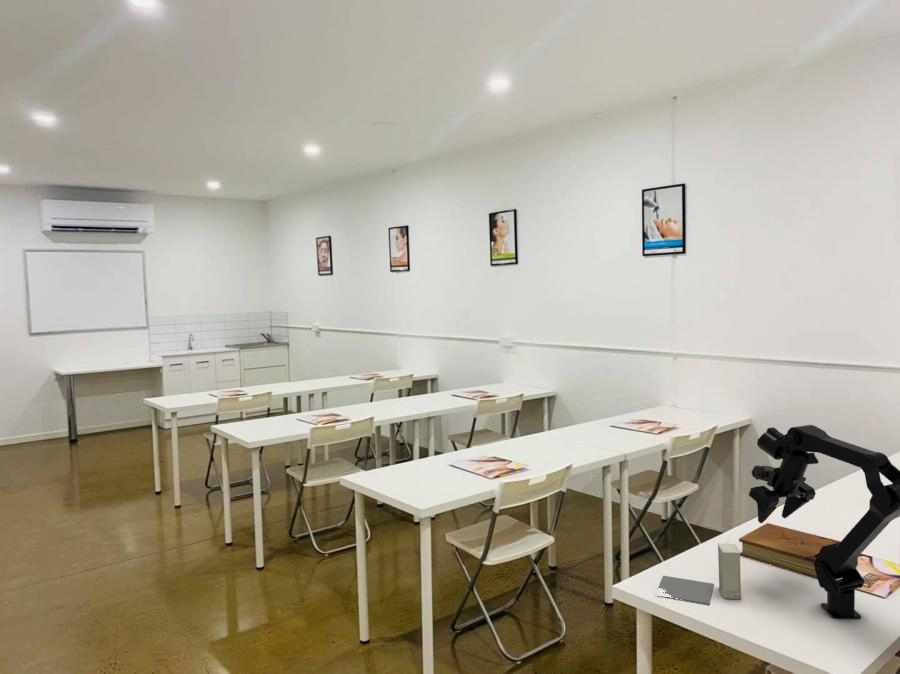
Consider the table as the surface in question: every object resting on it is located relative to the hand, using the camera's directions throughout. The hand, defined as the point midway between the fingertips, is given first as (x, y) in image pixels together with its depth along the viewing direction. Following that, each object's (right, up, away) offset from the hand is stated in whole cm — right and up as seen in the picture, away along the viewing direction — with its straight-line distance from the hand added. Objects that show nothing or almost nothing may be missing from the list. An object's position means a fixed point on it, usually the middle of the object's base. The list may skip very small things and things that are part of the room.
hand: (771, 519), depth 174 cm
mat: (-24, -18, -2) cm, 30 cm away
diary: (+14, -16, +15) cm, 26 cm away
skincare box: (-13, -18, -5) cm, 23 cm away
